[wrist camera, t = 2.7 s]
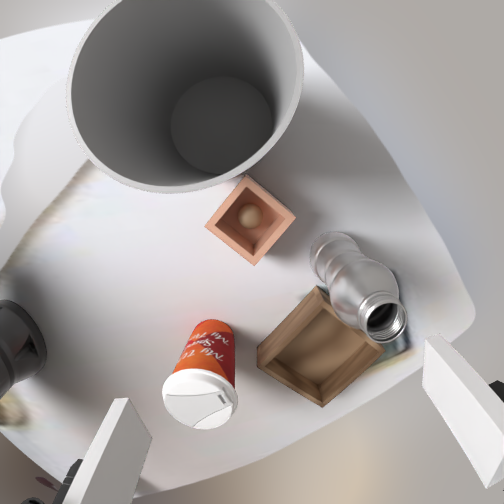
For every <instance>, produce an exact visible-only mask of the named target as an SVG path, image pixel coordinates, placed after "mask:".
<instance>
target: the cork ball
mask: <svg viewBox="0 0 504 504" xmlns="http://www.w3.org/2000/svg"><path fill="white" fill-rule="evenodd" d="M262 220H263V212H262V210H261V209H260V207H259V206H257V205H255V204H246V205H244V206H243V207H241V208H240V210H239V212H238V221H239V223H240V224H241V225H242V226H243V227H245V228H247V229H254V228H256V227H258V226H259V225H260V224H261V223H262Z"/></svg>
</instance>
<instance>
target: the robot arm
mask: <svg viewBox="0 0 504 504" xmlns="http://www.w3.org/2000/svg"><path fill="white" fill-rule="evenodd" d="M45 362H46V347H45V343H44V340H43V337H42V335H41V333H40V331H39V329H38V327H37V325H36V324H35V322H34V321H33V320H32V318H31V317H30V316H29V315H28V314H27V313H26V312H25V311H24V310H23V309H22V308H21V307H20V306H18V305H17V304H15V303H13V302H11V301H8V300H0V399H1V398H2V397H3V396H4V394H5V393H6V392H7V391H8V390H9V389H10V388H11V387H12V386H13V385H14V384H15V383H18V382H20V381H22V380H25V379H27V378H30V377H32V376H34V375H36V374H37V373H38V372H39V371H40V370H41V368H42V367H43V366H44V364H45ZM422 387H423V388H424V390H425V391H426V393H427V394H428V396H429V397H430V399H431V400H432V402H433V403H434V405H435V406H436V408H437V409H438V411H439V413H440V414H441V415H442V417H443V419H444V420H445V422H446V423H447V425H448V426H449V428H450V430H451V431H452V433H453V434H454V436H455V438H456V439H457V441H458V442H459V444H460V446H461V447H462V449H463V451H464V452H465V454H466V455H467V457H468V459H469V460H470V462H471V464H472V465H473V467H474V469H475V471H476V472H477V474H478V476H479V477H480V479H481V481H482V482H483V484H484V486H485V488H486V489H487V488H489V487H490V486H492V485H494V484H495V483H497V482H499V481H500V480H502V479H503V478H504V383H502V382H500V381H498V380H497V381H495V382H493V383H491V384H489V385H488V384H487V383H486V382H485V381H484V380H483V379H482V378H481V377H480V375H479V374H478V373H477V372H476V371H475V370H474V369H473V368H472V367H471V366H470V365H469V364H468V363H467V361H466V360H465V359H464V358H463V357H462V356H461V355H460V354H459V353H458V352H457V351H456V350H455V349H454V348H453V347H452V346H451V344H450V343H449V342H448V341H447V340H446V339H445V338H444V337H443V336H442V335H441V334H440V333H439V334H436V335H434V336H431V337H428V338H425V350H424V369H423V382H422ZM151 440H152V437H151V435H150V434H149V432H148V430H147V429H146V427H145V425H144V424H143V422H142V420H141V419H140V417H139V415H138V413H137V412H136V410H135V408H134V406H133V404H132V403H131V401H130V399H129V398H115V399H114V401H113V403H112V405H111V407H110V409H109V411H108V412H107V414H106V416H105V418H104V420H103V422H102V424H101V426H100V428H99V430H98V432H97V434H96V436H95V438H94V440H93V441H92V443H91V445H90V447H89V449H88V451H87V453H86V455H85V457H84V459H78V460H77V461H76V462H75V463H74V464H73V465H72V466H71V467H70V469H69V471H68V473H67V475H66V476H67V477H66V478H65V479H64V481H63V485H61V487H60V489H59V491H58V493H57V495H56V497H55V499H54V501H53V504H131V502H132V499H133V496H134V493H135V490H136V487H137V483H138V480H139V477H140V474H141V471H142V468H143V465H144V462H145V458H146V455H147V452H148V449H149V446H150V443H151ZM503 491H504V490H503ZM22 504H44V503H43V502H42V501H41V500H40V499H38V498H28V499H26V500H25V501H23V502H22Z"/></svg>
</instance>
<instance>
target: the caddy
mask: <svg viewBox="0 0 504 504" xmlns="http://www.w3.org/2000/svg"><path fill="white" fill-rule="evenodd" d="M384 352H385V349H384V347H383V346H382V344H381V343H376V342H374V341H372V340H371V339H370V338H369V337H367V335H366V333H365V332H364V331H363V330H360V329H355V328H352V327H350V326H349V325H347V324H345V323H343V322H342V321H341V320H340V319H339V318H338V317H337V315H336V314H335V312H334V310H333V307H332V304H331V300H330V296H329V295H327V294H326V293H325V292H324V291H323V290H321V289H320V288H319V287H318V286H317V285H316V286H315V287H314V288H313V290H312V291H311V292H310V293H309V294H308V295H307V296H306V297H305V298H304V299H303V300H302V301H301V302H300V304H299V305H298V306H297V307H296V308H295V309H294V310H293V311H292V312H291V313H290V314H289V315H288V316H287V317H286V318H285V319H284V320H283V321H282V322H281V323H280V324H279V326H278V327H277V328H276V329H275V330H274V331H273V332H272V333H271V334H270V335H269V336H268V337H267V338H266V339H265V340H264V341H263V342H262V343H261V344H260V345H259V346H258V347H257V367H258V368H259V369H261V370H262V371H264V372H265V373H267V374H268V375H270V376H272V377H273V378H275V379H276V380H278V381H279V382H281V383H283V384H284V385H286V386H287V387H289V388H291V389H292V390H294V391H295V392H297V393H299V394H300V395H302V396H304V397H305V398H307V399H309V400H310V401H312V402H314V403H315V404H317V405H319V406H321V407H322V408H323V407H324V406H325V405H326V404H328V403H329V402H330V401H331V400H332V399H334V398H335V397H336V396H337V395H338V394H339V393H341V392H342V391H343V390H344V389H345V388H346V387H347V386H348V385H350V384H351V383H352V382H353V381H354V380H355V379H356V378H357V377H358V376H360V375H361V374H362V373H363V372H364V371H365V370H366V369H367V368H368V367H369V366H370V365H371V364H372V363H373V362H375V361H376V360H377V359H378V358H379V357H380V356H381V355H382V354H383V353H384Z"/></svg>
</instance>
